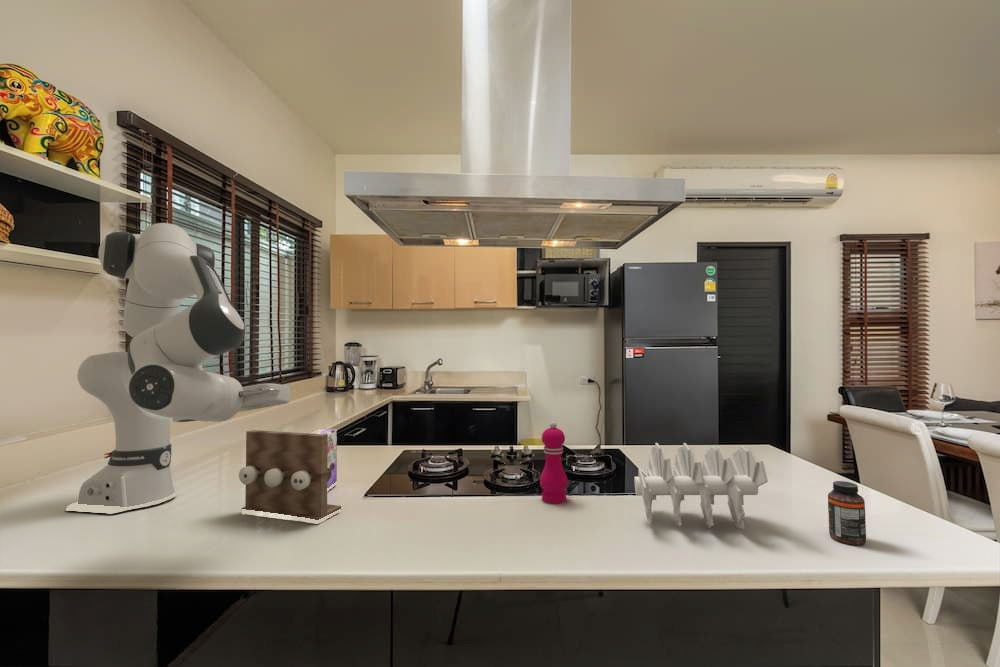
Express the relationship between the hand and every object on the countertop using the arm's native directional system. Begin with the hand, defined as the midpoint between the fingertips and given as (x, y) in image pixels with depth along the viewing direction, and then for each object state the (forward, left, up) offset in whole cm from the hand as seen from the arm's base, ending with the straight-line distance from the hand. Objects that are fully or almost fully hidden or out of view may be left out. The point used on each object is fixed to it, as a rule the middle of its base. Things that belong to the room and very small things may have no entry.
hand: (257, 404), depth 99 cm
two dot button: (+9, +4, -19) cm, 22 cm away
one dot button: (-5, +8, -19) cm, 21 cm away
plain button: (+2, +6, -19) cm, 20 cm away
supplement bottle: (+123, -8, -27) cm, 127 cm away
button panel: (+3, +10, -27) cm, 29 cm away
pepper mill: (+67, +18, -27) cm, 75 cm away
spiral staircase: (+96, +1, -27) cm, 100 cm away
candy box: (+3, +25, -27) cm, 37 cm away
